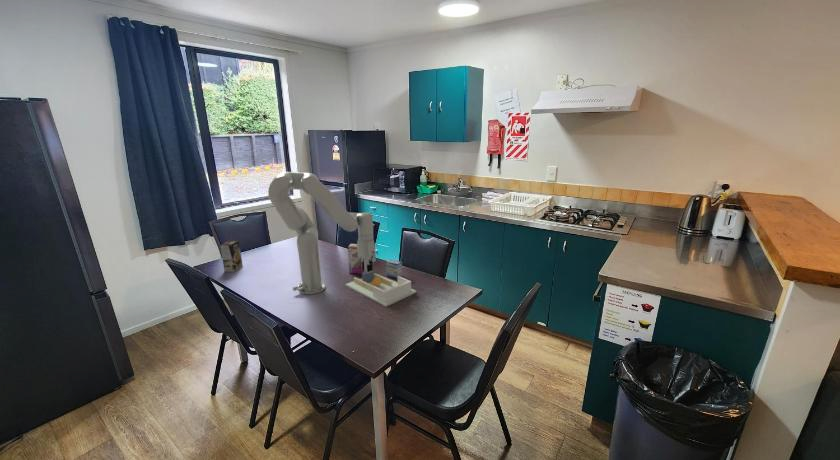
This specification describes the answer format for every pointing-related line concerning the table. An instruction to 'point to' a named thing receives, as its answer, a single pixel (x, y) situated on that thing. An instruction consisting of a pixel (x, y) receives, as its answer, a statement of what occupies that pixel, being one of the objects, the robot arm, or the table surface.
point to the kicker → (367, 273)
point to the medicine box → (393, 268)
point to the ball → (376, 281)
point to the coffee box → (231, 256)
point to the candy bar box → (354, 260)
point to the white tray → (383, 289)
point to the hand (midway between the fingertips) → (367, 269)
